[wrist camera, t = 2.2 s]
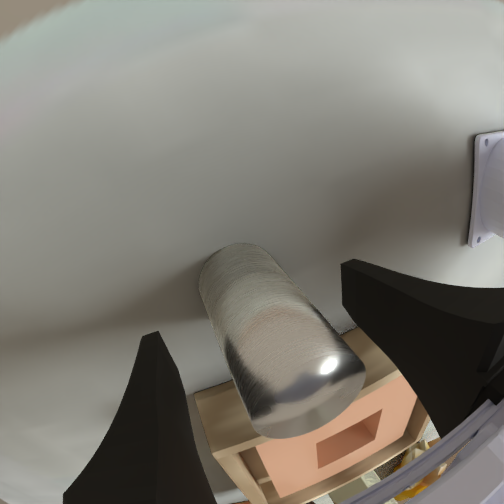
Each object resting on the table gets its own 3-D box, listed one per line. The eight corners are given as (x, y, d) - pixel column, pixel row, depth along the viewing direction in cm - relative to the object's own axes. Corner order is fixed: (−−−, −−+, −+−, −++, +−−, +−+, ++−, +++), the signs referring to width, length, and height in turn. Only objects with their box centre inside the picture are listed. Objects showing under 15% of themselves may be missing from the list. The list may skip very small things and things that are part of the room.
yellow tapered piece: (377, 473, 48) (407, 433, 33) (415, 468, 46) (460, 423, 31) (377, 509, 41) (410, 489, 27) (416, 503, 40) (467, 477, 25)
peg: (268, 232, 14) (369, 333, 8) (280, 298, 15) (362, 406, 9) (188, 259, 13) (238, 390, 7) (210, 324, 14) (263, 451, 9)
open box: (426, 290, 19) (467, 322, 16) (398, 413, 27) (419, 440, 23) (193, 393, 16) (211, 453, 13) (250, 484, 24) (265, 518, 20)
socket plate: (407, 329, 19) (431, 351, 17) (388, 418, 25) (402, 436, 23) (239, 409, 17) (253, 442, 15) (270, 475, 23) (280, 498, 21)
